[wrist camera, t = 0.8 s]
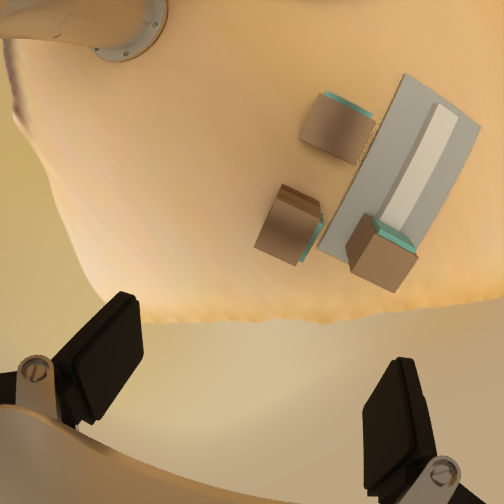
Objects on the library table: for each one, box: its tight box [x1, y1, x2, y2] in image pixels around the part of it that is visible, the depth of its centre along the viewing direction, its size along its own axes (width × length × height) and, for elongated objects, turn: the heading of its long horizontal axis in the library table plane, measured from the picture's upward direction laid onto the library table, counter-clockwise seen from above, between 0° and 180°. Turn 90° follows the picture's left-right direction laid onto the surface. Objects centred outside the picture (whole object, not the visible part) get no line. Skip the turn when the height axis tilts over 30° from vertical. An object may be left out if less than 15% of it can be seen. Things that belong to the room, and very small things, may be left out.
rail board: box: [317, 73, 481, 293], centre depth 31 cm, size 12×25×8 cm, turn 157°
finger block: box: [254, 184, 324, 266], centre depth 35 cm, size 6×6×7 cm
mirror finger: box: [299, 91, 376, 166], centre depth 30 cm, size 6×6×7 cm
